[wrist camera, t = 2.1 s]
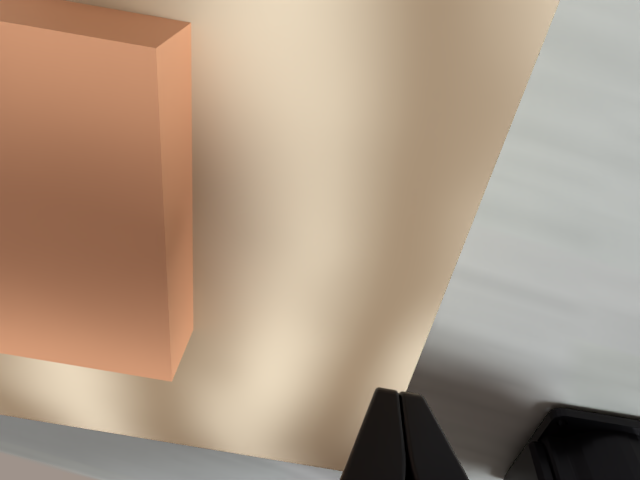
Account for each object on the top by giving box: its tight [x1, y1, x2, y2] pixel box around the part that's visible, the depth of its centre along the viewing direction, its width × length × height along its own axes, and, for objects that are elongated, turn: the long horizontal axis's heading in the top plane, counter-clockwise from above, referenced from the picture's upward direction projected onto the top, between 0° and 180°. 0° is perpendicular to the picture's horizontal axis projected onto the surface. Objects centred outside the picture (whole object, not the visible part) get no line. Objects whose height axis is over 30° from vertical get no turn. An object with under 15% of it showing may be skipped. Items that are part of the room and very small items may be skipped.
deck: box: [0, 0, 560, 471], centre depth 14 cm, size 16×22×4 cm
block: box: [0, 0, 193, 382], centre depth 12 cm, size 6×9×2 cm, turn 172°
